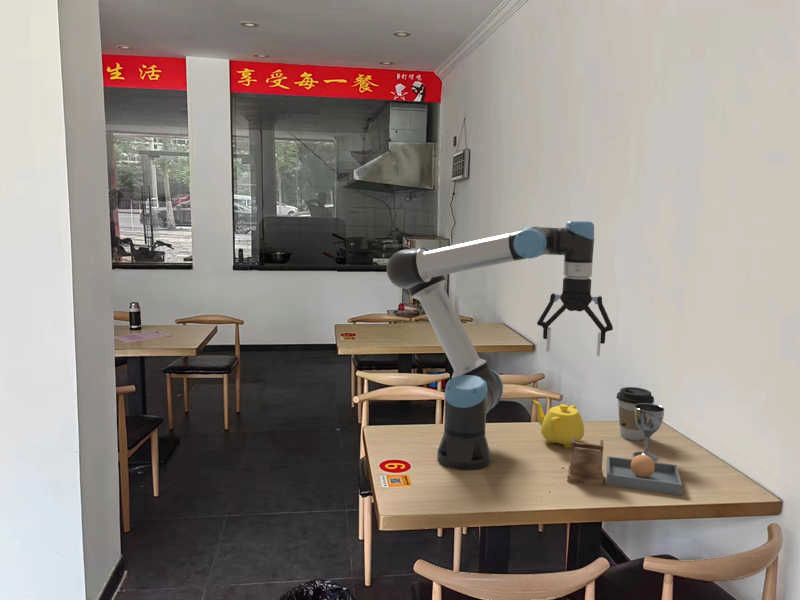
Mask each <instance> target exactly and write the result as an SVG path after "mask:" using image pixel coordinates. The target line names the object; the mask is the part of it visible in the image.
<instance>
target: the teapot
mask: <svg viewBox="0 0 800 600" xmlns="http://www.w3.org/2000/svg"><path fill="white" fill-rule="evenodd" d="M532 401H533V403H534V404H535V406H536V410H537V411H536V412H537V415H536V416H537V418H536V419H537V421H538V424H539V425H540V426H541V427H540V428H541V429H540V432H541V435H542V436H543V439H545V440H546V441H545V443H546V444H548V445H552V444H554V443H556V444H562V446H563V448H565V449H571V446H572V437H575V442H580V440H581V439H582V438H583V437H584V435H585V426H584V421H583V418H582V416H581V413H580V412H579V410H578V409H577V407H576V405H574V404H572V405H570V406H569V405H567V404H564V403H561V404H559V405H556V406H552V407H550V408H549V410H548V411H547V412H546V414H544V411H543V405H542V404H541V402H539V401H537V400H534V399H532Z"/></svg>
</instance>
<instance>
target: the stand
mask: <svg viewBox="0 0 800 600" xmlns="http://www.w3.org/2000/svg"><path fill="white" fill-rule="evenodd" d="M570 449H571V451H570V464H569V465H568V470H567V471H568V472H567V478H566V479H567V481H566V482H571V483H575V484H577V483H578V484H583V485H584V484H585V485H591V486H597V487H604V470H603V458H604V457H603V456H604V440H601V439H600V444H595V443H587V442H585V443H584V442H580V441H578V442H575V437H572V444H571V448H570Z"/></svg>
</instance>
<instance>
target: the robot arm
mask: <svg viewBox="0 0 800 600" xmlns="http://www.w3.org/2000/svg"><path fill="white" fill-rule="evenodd" d="M594 245H595V224H594V223H593V222H592V221H586V220H585V221H584V220H581V221H580V220H568V221H566V225H565V227H547V226H546V227H543V226H542V227H541V226H528V227H527V226H526V227H524V228H523V229H522V230H518V231H514V232H510V233H509V232H508V233H505V234H501V235H495V236H490V237H485V238H481V239H476V240H471V241H468V242H464V243H458V244H454V245H450V246H449V245H448V246H443V247H440V248H436V249H432V248H431V249H430V248H428V247H427V248H426V247H414V248H409V249H401V250H399V251H396V252H395V253H393V254H392V256H390V257H389V260H388V261H387V264H386V274H387V276H388V279H389V280H390V282H391V283H392V284H393V285H394V286H395V287H397V288H400V289H405V290H408V293H409V294H410V296H411V298H413V299H415V300H418V301H419V303H420V305H421V306H422V309H423V311H424V313H425V316H426V317H427V319H428V321H429V323H430V325H431V327H432V329H433V331H434V333H435V335H436V337H437V339H438V341H439V343H440V345H441V347H442V349H443V351H444V353H445V355H446V357H447V359H448V361H449V363H450V365H451V367H452V369H453V373H452V376H451V378H450V379H449V380H447V382H446V383H445V390H444V420H443V421H444V424H443V425H444V429H443V431H444V432H443V435H442V437H441V441H440V443H439V446H438V448H437V455H436V456H437V457H436V459H437V461H438V462H439V463H440V464H441V465H442V466H444V467H447V468H450V469H454V470H461V471H475V470H480V469H483V468H486V467H487V466H489V465H490V464H491V451H490V447H489V444H488V440H487V437H486V424H487V423H486V422H487V421H486V420H487V418H486V417H487V414H488V413H489V412H490V410H492V409H493V408H495V407H496V406H497V404H499V402H500V400H501V398H502V396H503V393H504V383H503V380H502V378H501V376H500V375H499V374H498V372H496V371H495V370H493V369H491V368H490V365H489V364H488V362H487V360H485V359H483V358H480V357H479V355H478V352H477V351H476V349H475V347H474V345H473V343H472V340H471V339H470V337H469V335H468V332H467V331H466V329H465V326H464V325H463V323H462V321H461V319H460V317H459V316H458V313H457V311H456V308H455V306H454V305H453V303H452V301H451V298H450V297H449V295H448V293H447V291H446V289H445V285H446V282H447V280H446V278H445V276H447V275H451V274H456V273H457V274H458V273H461V272H466V271H471V270H477V269H481V268H485V267H490V266H495V265H501V264H505V263H511V262H516V261H521V260H526V259H534V258H538V257H540V256H544V255H547V256H549V255H550V256H553V255H554V256H564V259H563V276H564V277H563V279H562V290H561V291H562V292H561V294H556V293H555V292H552V293H551V294H550V298H549V302H548V303H547V305H546V307H545V309H544V311H543V313H542V314H541V315H540V317H539V318H538V320H537V322H536V323H537V326H540V327H542V329H543V330H542V331H543V332H542V333H543V334H542V339H543V340H546V350H545V351H546V352H547V353H548V352H550V350H551V336H552V333H551V332H552V328H551V327H550V326H551V325H552V323H554V321H556V320H557V319H558V318H559V317H560V316H561V315H562V314H563V313H564V312H565V311H566V309H567V310H568V311H569V312H574V311H576V312H583V311H584V312H585V313H586V314H587V315H588V317H589V318H590V319H591V320H592V322H593V323H594V324H595V325H596V327H597V328H598V329H599V330H598V331H597V346H596V356H597V357H600V354H601V344H602V345H603V344H605V342H606V335H607V334H606V333H607V332H609V331H613V330H614V327H613V324H612V322H611V320H610V317H609V315H608V313H607V311H606V309H605V306H604V305H603V296H601V295H597V296H592V295H591V294H592V293H591V292H592V279H591V277H592V276H593V264H594V263H593V260H594V259H593V258H594ZM558 300H560V301H561V302H562V305H561V306H560V307H559V309H557V310H556V311H555V312H554V313H553V314H552V315H551V317H549V319H547V320H546V321H544V320H545V319H546V317H547V315H548V314H549V313H550V310H551V308H552V307H553V305H554V304H555V303H556V302H558ZM592 302H594V304H595V305H597V306H598V310H599V312H600V314H601V316H602V318H603V321H604V323H605V325H604V324H603V323H602V322H601V320H600V318H598V316H597V315H596V314H595V313H594V312H593V310H592V309H591V307H590V306H589V305H590V304H591V303H592Z"/></svg>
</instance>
